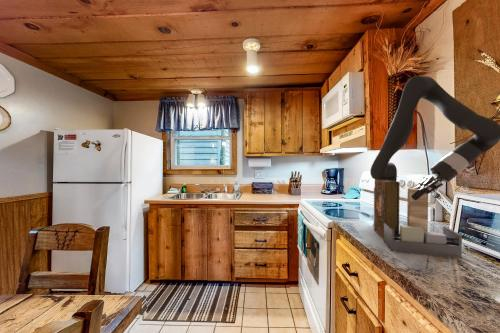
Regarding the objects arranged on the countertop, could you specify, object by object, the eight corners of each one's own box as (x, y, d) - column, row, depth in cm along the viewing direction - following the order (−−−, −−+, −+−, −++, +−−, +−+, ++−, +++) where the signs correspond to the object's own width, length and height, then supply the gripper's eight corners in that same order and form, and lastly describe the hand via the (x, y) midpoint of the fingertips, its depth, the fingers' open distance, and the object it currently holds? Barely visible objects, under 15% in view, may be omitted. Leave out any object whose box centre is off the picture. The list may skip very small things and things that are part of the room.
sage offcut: (399, 248, 94) (399, 225, 93) (420, 250, 92) (421, 226, 91) (401, 251, 91) (402, 227, 91) (423, 253, 89) (423, 228, 89)
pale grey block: (423, 251, 91) (424, 232, 91) (442, 252, 90) (443, 233, 89) (426, 253, 89) (426, 234, 89) (446, 255, 87) (446, 235, 87)
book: (373, 229, 120) (373, 178, 119) (385, 230, 119) (386, 179, 118) (384, 240, 104) (385, 181, 103) (398, 241, 102) (399, 181, 102)
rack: (384, 241, 102) (384, 222, 101) (445, 247, 95) (445, 226, 95) (391, 251, 91) (391, 230, 90) (461, 258, 84) (461, 235, 84)
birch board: (406, 242, 98) (407, 188, 97) (424, 244, 96) (425, 188, 96) (409, 245, 95) (410, 189, 94) (427, 247, 93) (428, 189, 93)
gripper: (432, 160, 99) (398, 188, 103) (450, 159, 86) (410, 193, 90) (448, 173, 98) (412, 202, 102) (468, 175, 84) (426, 208, 88)
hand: (411, 197), depth 96 cm, fingers closed on birch board, 3 cm apart
